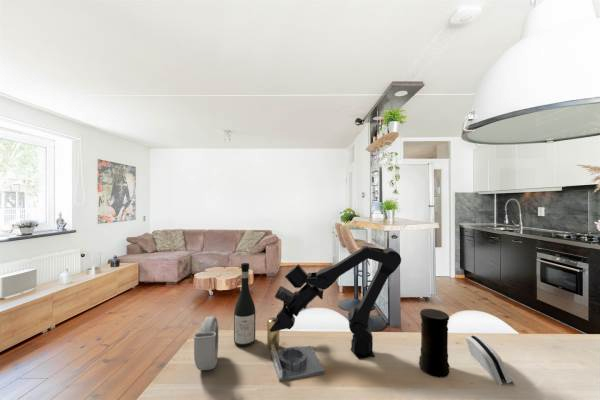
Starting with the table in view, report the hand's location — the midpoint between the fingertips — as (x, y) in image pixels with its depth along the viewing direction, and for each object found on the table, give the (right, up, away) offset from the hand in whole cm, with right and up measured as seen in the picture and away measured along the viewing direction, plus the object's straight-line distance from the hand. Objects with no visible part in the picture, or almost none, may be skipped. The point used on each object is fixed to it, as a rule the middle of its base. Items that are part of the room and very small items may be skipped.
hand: (273, 325), depth 101 cm
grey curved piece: (+71, -9, -12) cm, 72 cm away
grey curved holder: (-20, -8, -12) cm, 25 cm away
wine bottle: (-11, -8, +3) cm, 14 cm away
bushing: (0, -8, 0) cm, 8 cm away
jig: (+9, -8, -10) cm, 16 cm away
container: (+53, -9, -13) cm, 55 cm away
